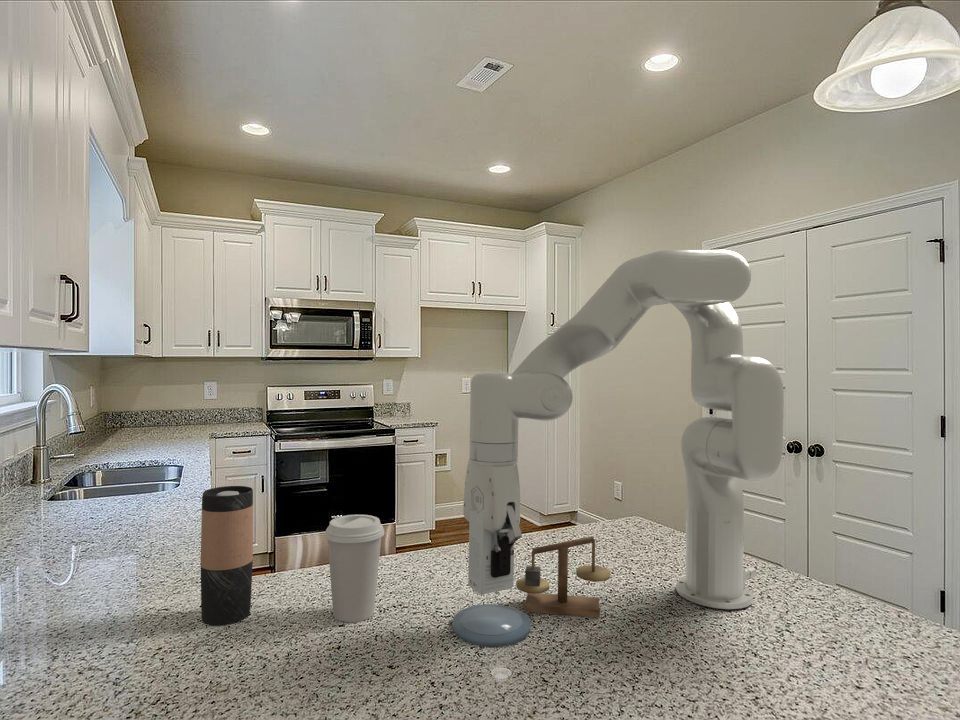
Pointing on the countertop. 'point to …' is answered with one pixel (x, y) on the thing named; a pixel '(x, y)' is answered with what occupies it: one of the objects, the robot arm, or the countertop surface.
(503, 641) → the dish
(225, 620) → the travel mug
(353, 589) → the coffee cup
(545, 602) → the balance
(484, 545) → the skincare box
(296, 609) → the countertop surface
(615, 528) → the countertop surface
